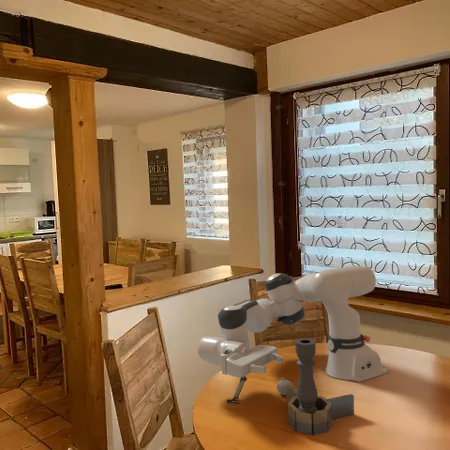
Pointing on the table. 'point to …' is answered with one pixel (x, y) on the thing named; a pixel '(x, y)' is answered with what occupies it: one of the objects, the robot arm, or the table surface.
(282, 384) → the garlic
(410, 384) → the table surface
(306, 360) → the candle holder
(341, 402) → the octagonal collar with flanges
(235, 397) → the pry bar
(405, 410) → the table surface
